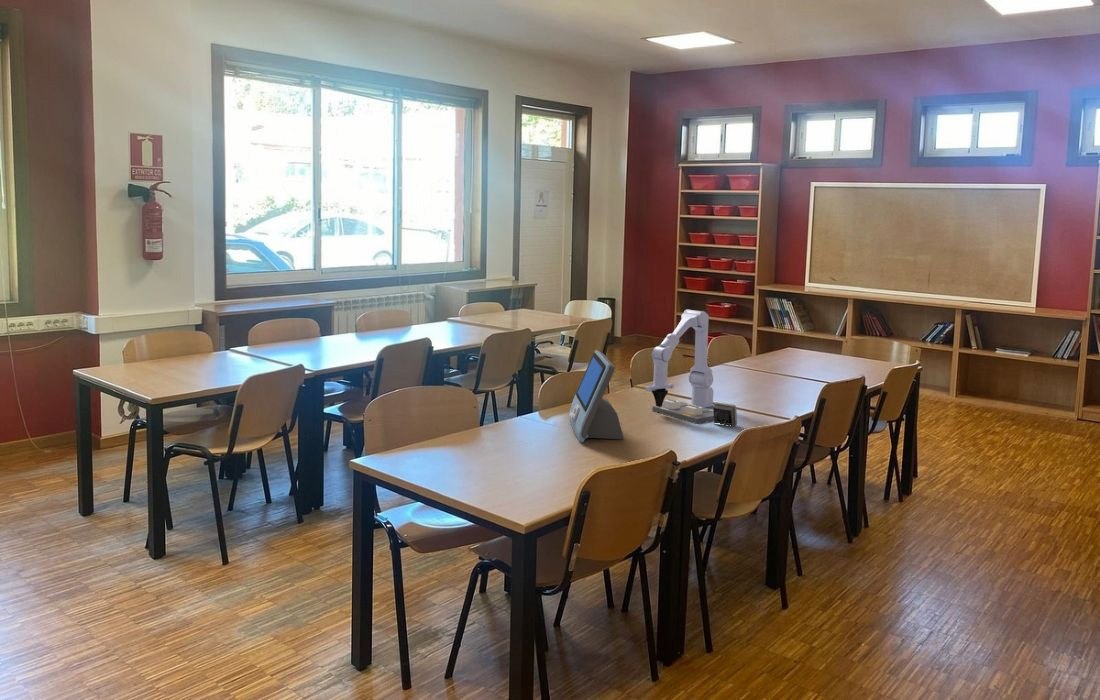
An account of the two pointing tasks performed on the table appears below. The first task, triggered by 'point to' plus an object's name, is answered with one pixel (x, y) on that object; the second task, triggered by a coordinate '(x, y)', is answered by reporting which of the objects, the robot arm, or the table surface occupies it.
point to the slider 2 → (693, 410)
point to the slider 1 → (671, 404)
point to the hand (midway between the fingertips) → (658, 406)
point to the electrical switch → (725, 413)
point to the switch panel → (680, 413)
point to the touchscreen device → (595, 403)
